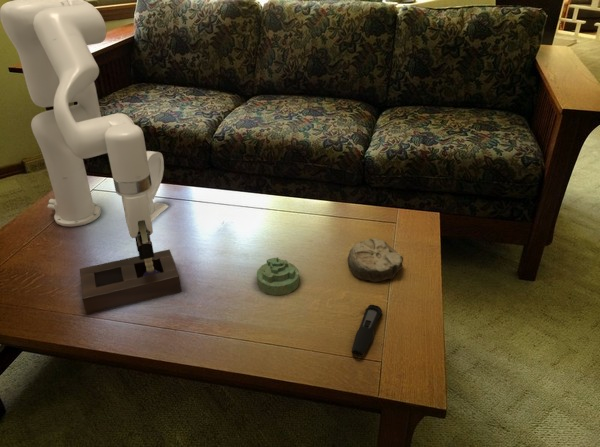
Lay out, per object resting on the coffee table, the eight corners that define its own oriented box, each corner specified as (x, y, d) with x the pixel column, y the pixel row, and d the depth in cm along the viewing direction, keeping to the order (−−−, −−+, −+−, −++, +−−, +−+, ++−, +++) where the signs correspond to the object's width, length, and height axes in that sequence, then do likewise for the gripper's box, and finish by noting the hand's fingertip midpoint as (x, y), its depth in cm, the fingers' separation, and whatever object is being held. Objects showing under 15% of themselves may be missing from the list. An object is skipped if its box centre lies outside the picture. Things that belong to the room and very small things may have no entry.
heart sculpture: (143, 228, 145) (133, 170, 136) (128, 225, 147) (116, 167, 137) (171, 203, 158) (164, 148, 149) (157, 200, 159) (148, 145, 150)
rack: (83, 283, 124) (79, 268, 121) (171, 264, 131) (169, 249, 128) (86, 314, 114) (82, 298, 112) (181, 291, 121) (179, 276, 119)
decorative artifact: (290, 298, 119) (304, 274, 127) (290, 274, 115) (304, 250, 123) (250, 290, 122) (266, 266, 130) (249, 265, 118) (265, 242, 126)
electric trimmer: (346, 358, 103) (346, 346, 102) (366, 309, 116) (367, 299, 114) (364, 363, 102) (365, 352, 101) (383, 314, 114) (384, 303, 113)
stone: (385, 249, 137) (387, 231, 134) (409, 277, 126) (412, 259, 123) (339, 258, 133) (339, 240, 131) (360, 288, 122) (361, 270, 120)
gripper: (110, 170, 115) (124, 239, 125) (118, 203, 103) (134, 277, 112) (145, 165, 118) (156, 233, 127) (157, 196, 105) (168, 269, 115)
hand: (145, 253), depth 120 cm, fingers closed on toy lamp, 2 cm apart
